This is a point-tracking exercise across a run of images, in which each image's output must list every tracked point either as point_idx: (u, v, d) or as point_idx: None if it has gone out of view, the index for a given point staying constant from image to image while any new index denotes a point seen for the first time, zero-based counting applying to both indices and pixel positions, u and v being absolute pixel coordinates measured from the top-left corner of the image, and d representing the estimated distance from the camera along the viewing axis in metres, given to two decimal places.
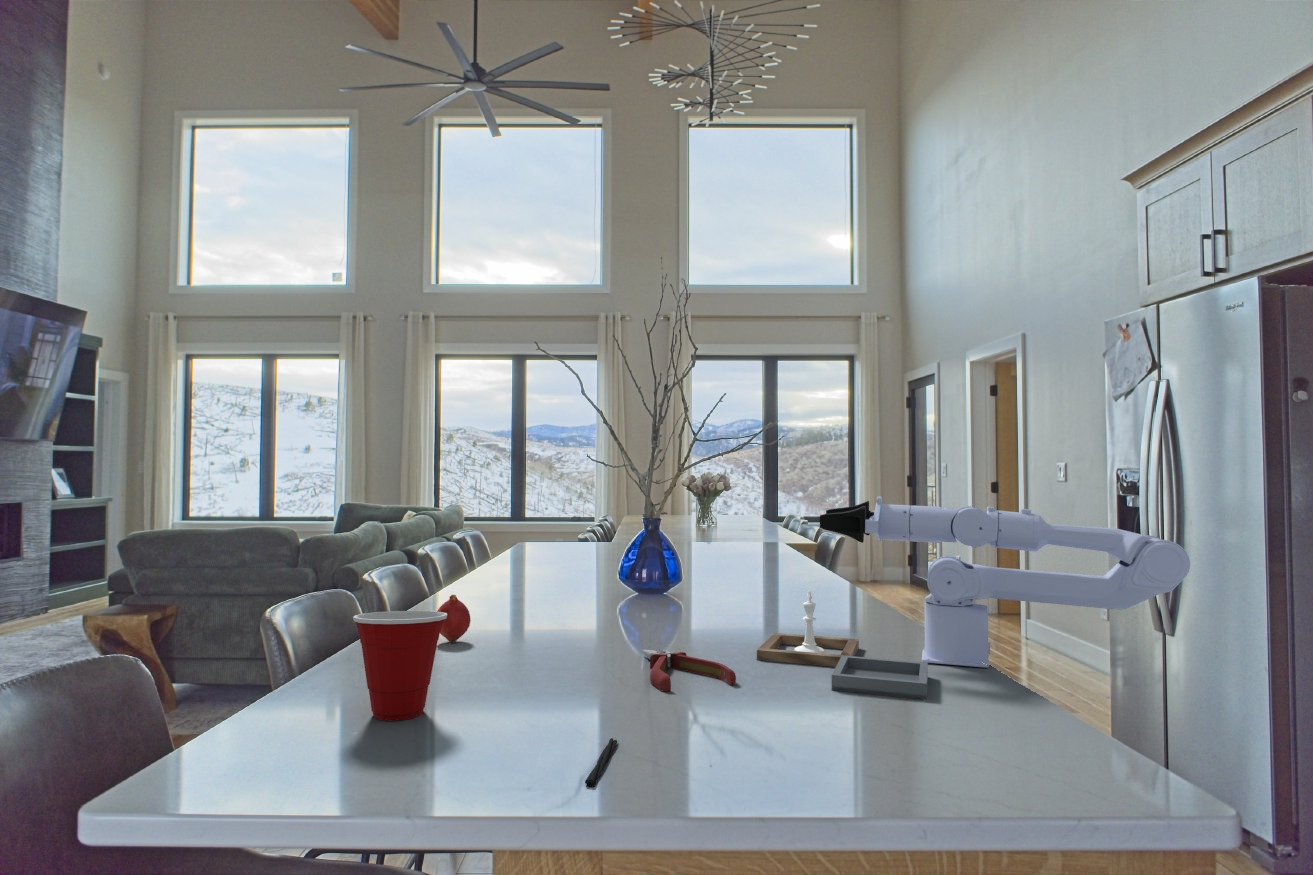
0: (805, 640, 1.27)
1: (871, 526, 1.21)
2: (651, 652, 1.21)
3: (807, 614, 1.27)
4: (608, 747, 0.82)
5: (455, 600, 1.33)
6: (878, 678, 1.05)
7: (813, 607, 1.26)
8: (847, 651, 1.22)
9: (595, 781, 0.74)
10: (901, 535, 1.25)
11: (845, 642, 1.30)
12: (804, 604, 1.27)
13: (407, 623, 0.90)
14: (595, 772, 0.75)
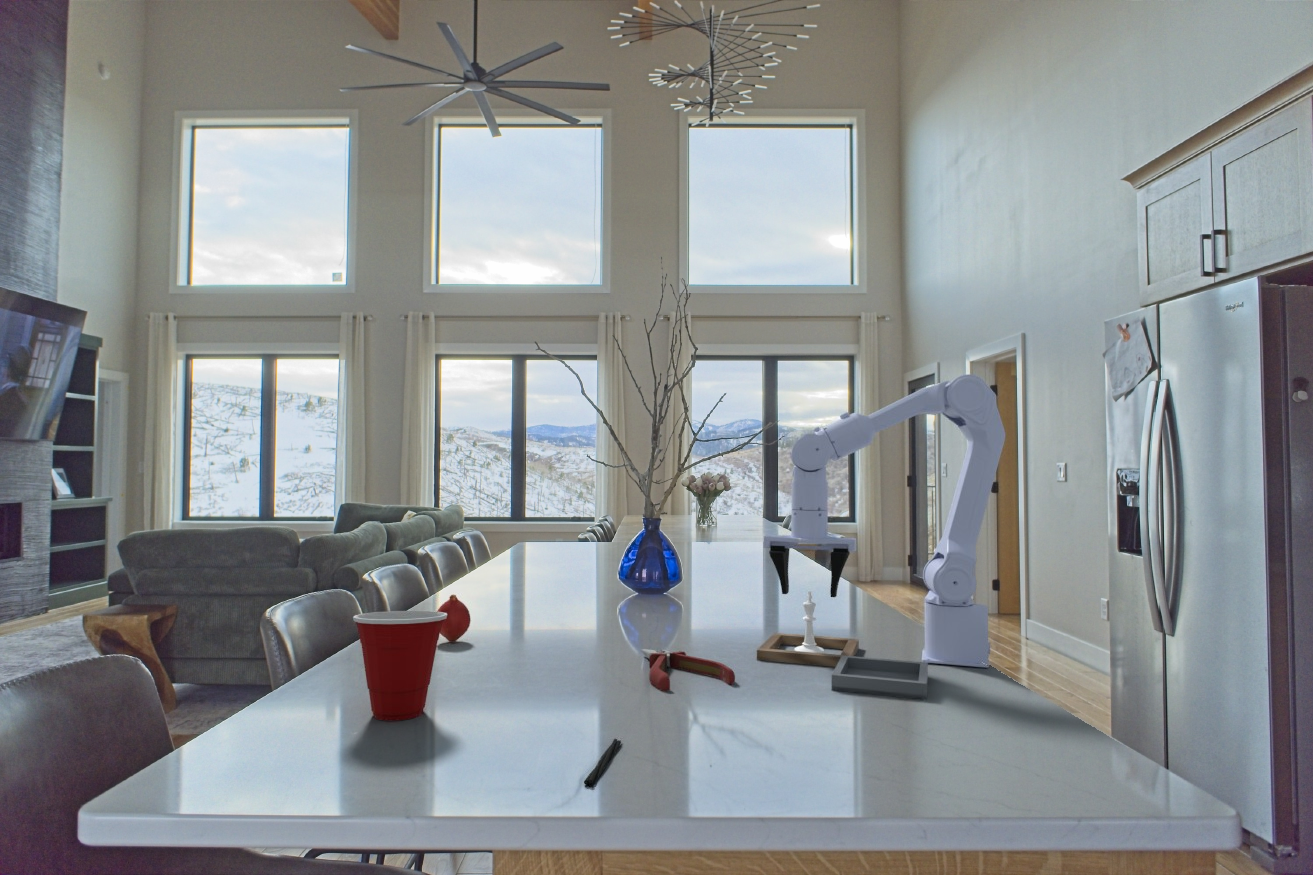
0: (805, 640, 1.27)
1: (855, 545, 1.25)
2: (650, 652, 1.21)
3: (807, 614, 1.27)
4: (611, 747, 0.81)
5: (455, 600, 1.33)
6: (878, 678, 1.05)
7: (813, 607, 1.26)
8: (847, 651, 1.22)
9: (594, 781, 0.74)
10: None
11: (845, 642, 1.30)
12: (804, 604, 1.27)
13: (407, 623, 0.90)
14: (595, 772, 0.75)
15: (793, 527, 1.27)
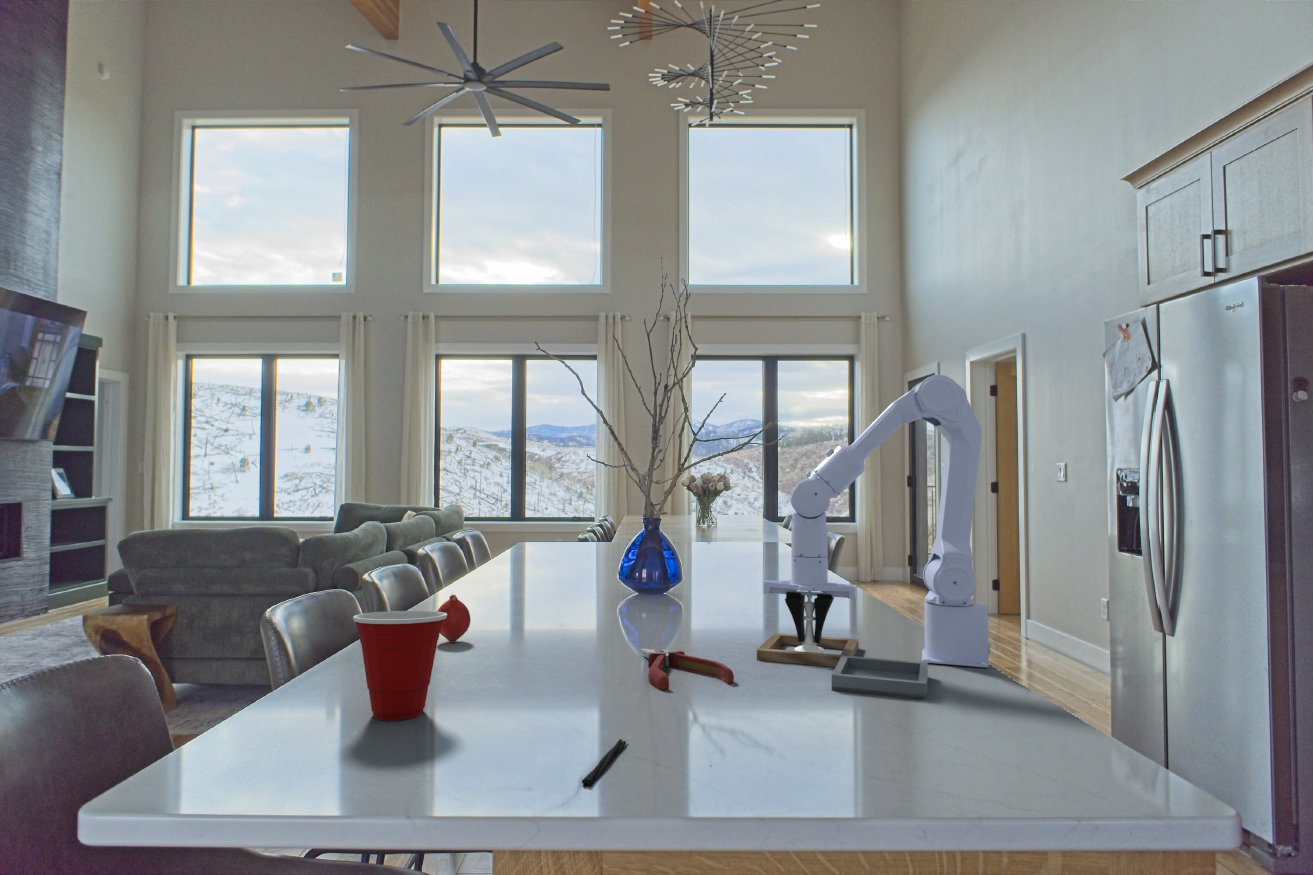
0: (805, 640, 1.27)
1: (855, 592, 1.25)
2: (649, 651, 1.22)
3: (807, 614, 1.27)
4: (614, 748, 0.81)
5: (455, 600, 1.33)
6: (878, 678, 1.05)
7: (813, 607, 1.26)
8: (847, 651, 1.22)
9: (592, 781, 0.74)
10: None
11: (845, 642, 1.30)
12: (804, 604, 1.27)
13: (407, 623, 0.90)
14: (594, 772, 0.75)
15: (793, 573, 1.27)
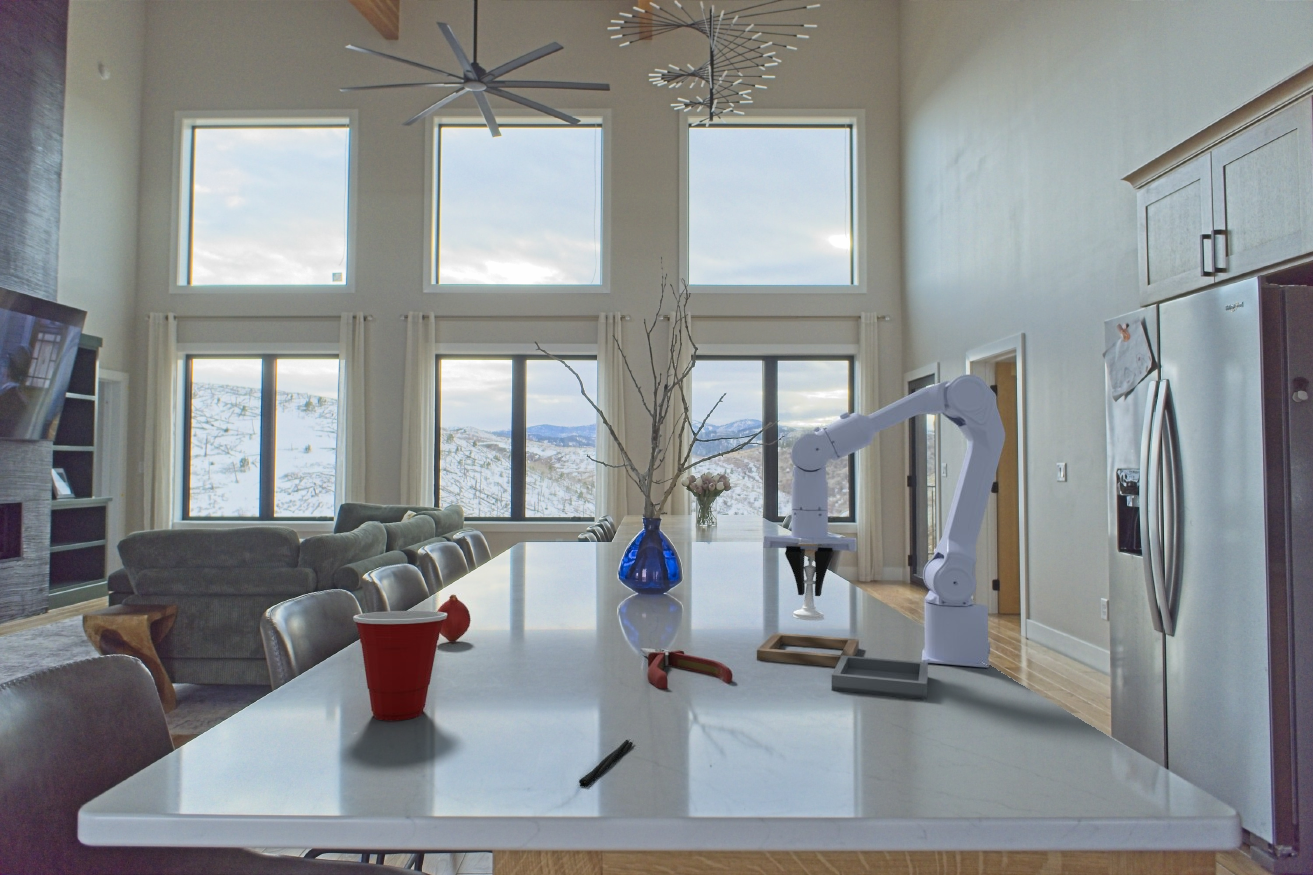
0: (805, 603, 1.27)
1: None
2: (649, 650, 1.22)
3: (808, 577, 1.27)
4: (619, 748, 0.81)
5: (455, 600, 1.33)
6: (878, 678, 1.05)
7: (814, 571, 1.27)
8: (847, 651, 1.22)
9: (590, 781, 0.74)
10: None
11: (845, 642, 1.30)
12: (805, 567, 1.27)
13: (407, 623, 0.90)
14: (593, 772, 0.75)
15: (793, 527, 1.27)
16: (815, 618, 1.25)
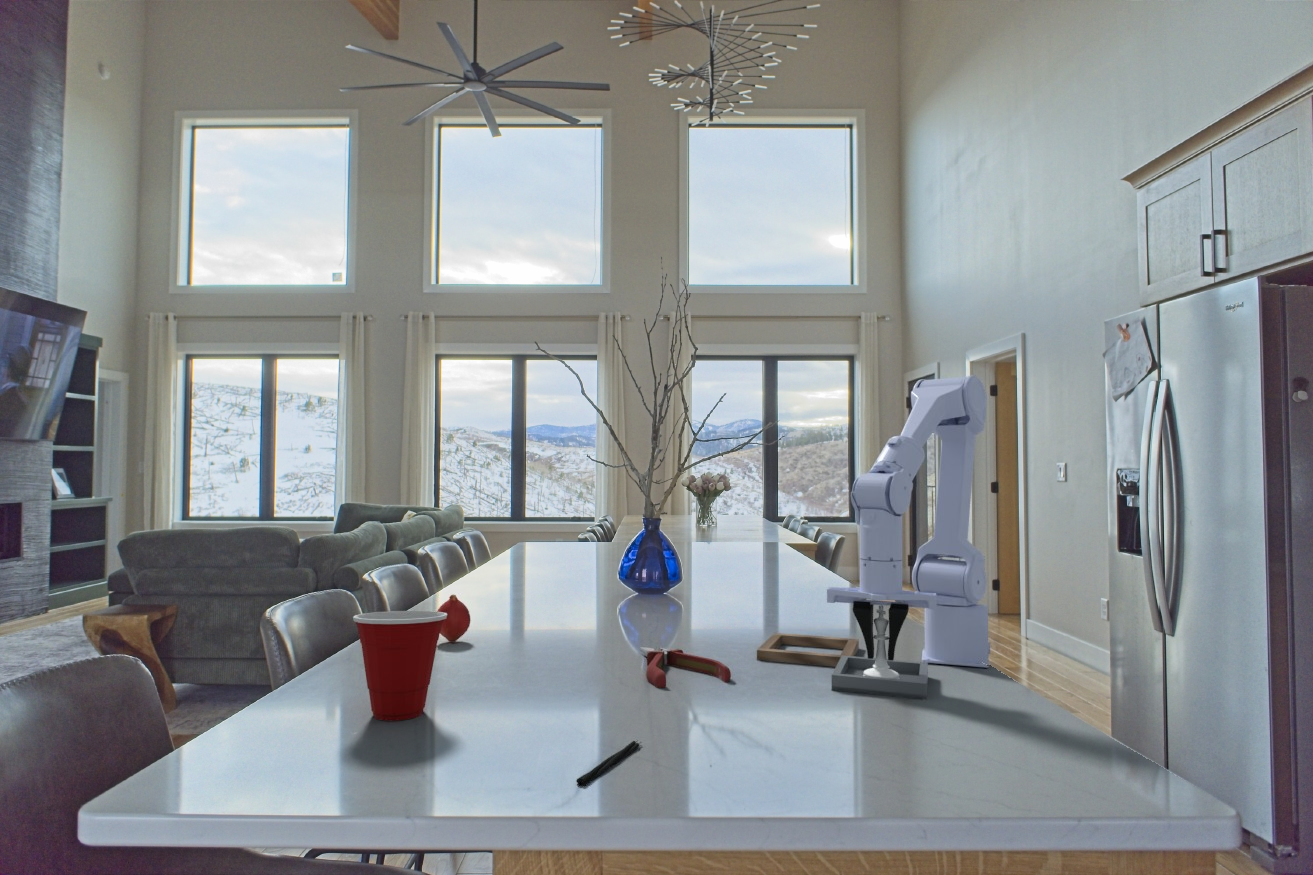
0: (877, 662, 1.10)
1: None
2: (648, 650, 1.23)
3: (879, 632, 1.10)
4: (623, 749, 0.81)
5: (455, 600, 1.33)
6: (878, 678, 1.05)
7: (886, 624, 1.10)
8: (847, 651, 1.22)
9: (588, 781, 0.74)
10: None
11: (845, 642, 1.30)
12: (876, 621, 1.10)
13: (407, 623, 0.90)
14: (591, 772, 0.75)
15: (862, 580, 1.09)
16: None
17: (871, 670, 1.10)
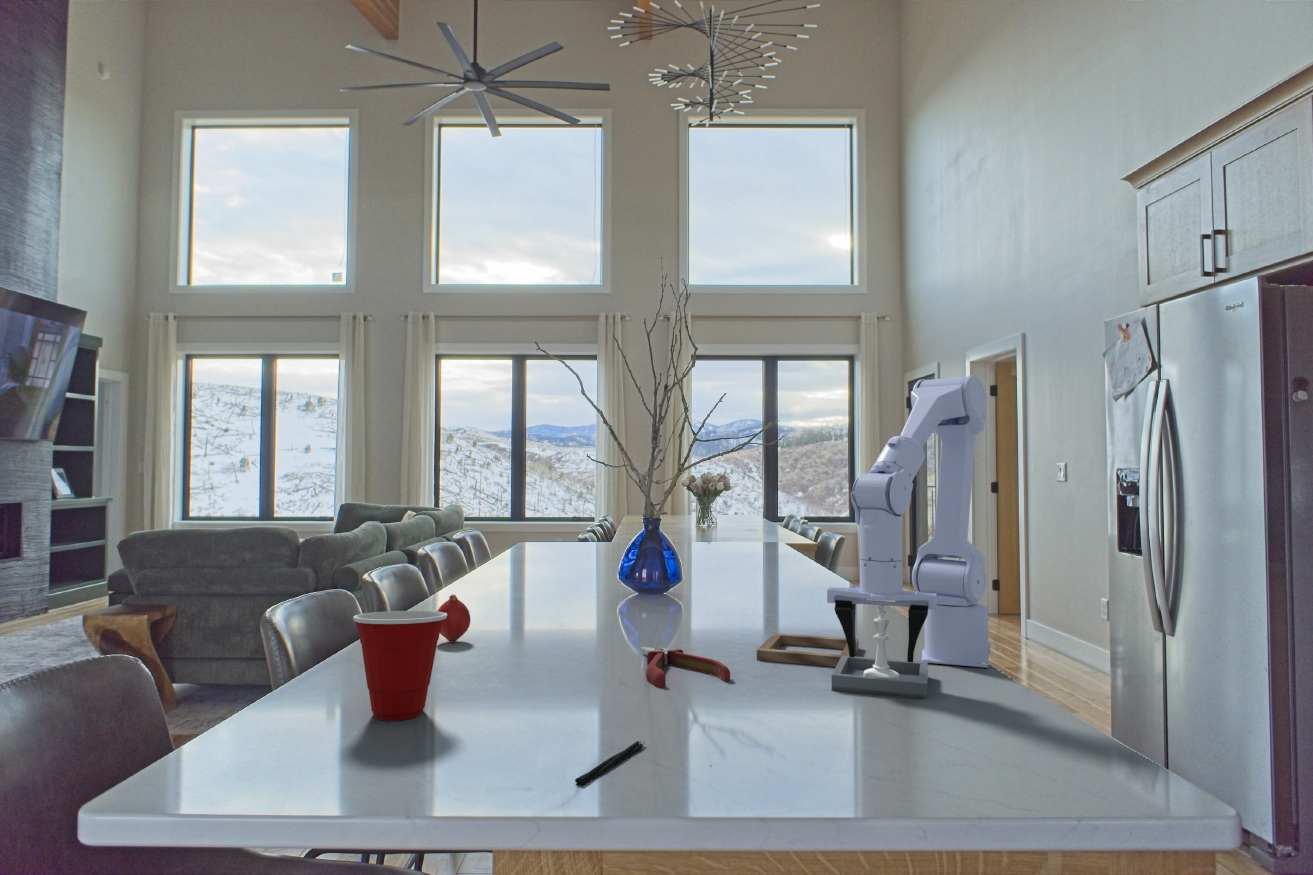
0: (877, 662, 1.10)
1: (936, 601, 1.08)
2: (649, 649, 1.23)
3: (879, 632, 1.10)
4: (626, 750, 0.81)
5: (455, 600, 1.33)
6: (878, 678, 1.05)
7: (886, 624, 1.10)
8: (847, 651, 1.22)
9: (586, 781, 0.74)
10: None
11: (845, 642, 1.30)
12: (876, 621, 1.10)
13: (407, 623, 0.90)
14: (591, 772, 0.75)
15: (863, 580, 1.09)
16: None
17: (871, 670, 1.10)
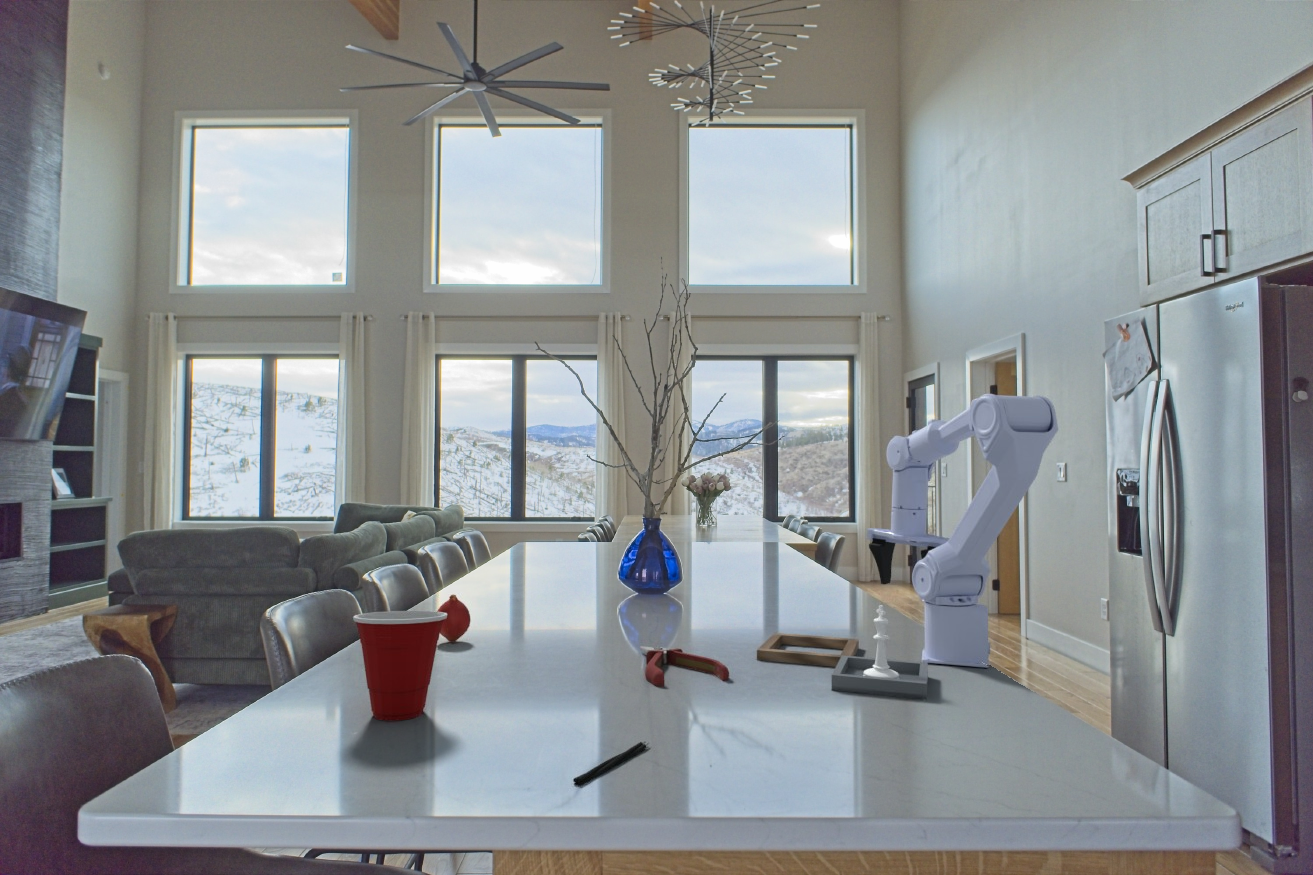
0: (877, 662, 1.10)
1: None
2: (648, 649, 1.23)
3: (879, 632, 1.10)
4: (628, 750, 0.81)
5: (455, 600, 1.33)
6: (878, 678, 1.05)
7: (886, 624, 1.10)
8: (847, 651, 1.22)
9: (585, 781, 0.74)
10: None
11: (845, 642, 1.30)
12: (876, 621, 1.10)
13: (407, 623, 0.90)
14: (590, 772, 0.75)
15: (891, 523, 1.35)
16: None
17: (871, 670, 1.10)
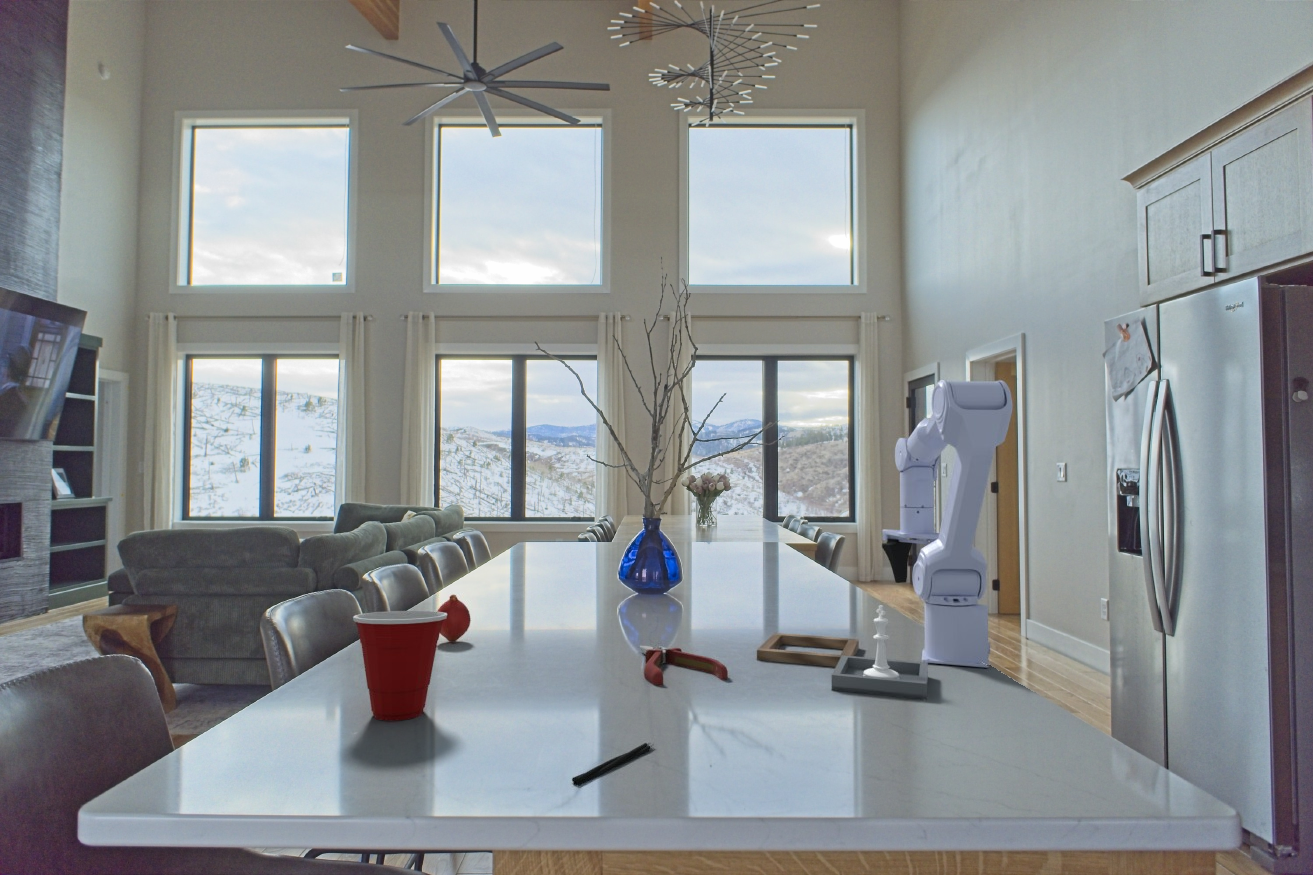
0: (877, 662, 1.10)
1: None
2: (647, 648, 1.24)
3: (879, 632, 1.10)
4: (631, 751, 0.81)
5: (455, 600, 1.33)
6: (878, 678, 1.05)
7: (886, 624, 1.10)
8: (847, 651, 1.22)
9: (583, 781, 0.74)
10: None
11: (845, 642, 1.30)
12: (876, 621, 1.10)
13: (407, 623, 0.90)
14: (589, 772, 0.75)
15: (900, 522, 1.40)
16: None
17: (871, 670, 1.10)
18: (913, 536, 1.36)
